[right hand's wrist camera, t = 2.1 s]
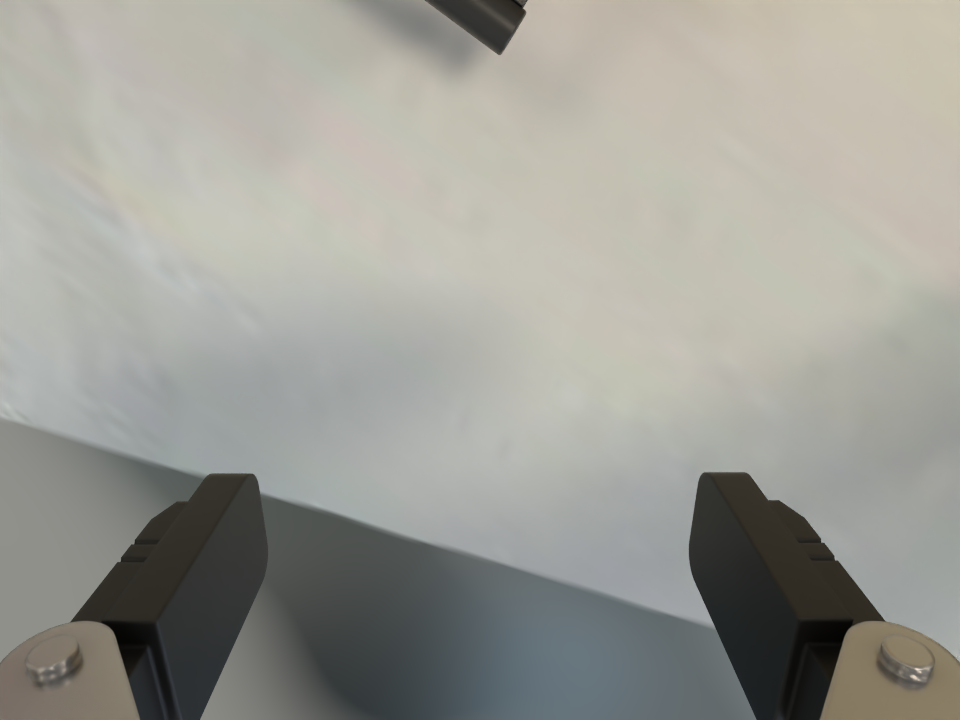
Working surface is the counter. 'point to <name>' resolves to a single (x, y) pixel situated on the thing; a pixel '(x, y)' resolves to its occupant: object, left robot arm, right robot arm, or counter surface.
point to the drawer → (485, 19)
